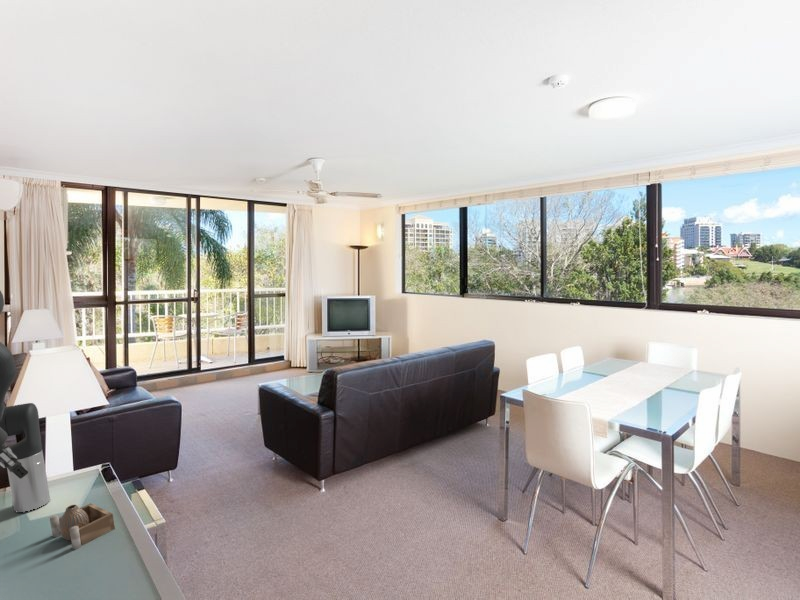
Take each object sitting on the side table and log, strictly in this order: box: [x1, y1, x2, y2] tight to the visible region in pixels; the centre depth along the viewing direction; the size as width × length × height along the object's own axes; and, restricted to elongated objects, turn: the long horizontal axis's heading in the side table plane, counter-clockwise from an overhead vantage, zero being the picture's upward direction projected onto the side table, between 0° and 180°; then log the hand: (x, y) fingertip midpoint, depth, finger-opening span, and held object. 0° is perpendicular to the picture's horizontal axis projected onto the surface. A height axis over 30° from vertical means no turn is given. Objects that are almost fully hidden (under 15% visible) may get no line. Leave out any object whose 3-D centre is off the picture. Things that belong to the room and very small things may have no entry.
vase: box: [59, 504, 90, 541], centre depth 130 cm, size 7×7×9 cm
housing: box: [49, 503, 116, 550], centre depth 132 cm, size 14×10×6 cm
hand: (23, 474), depth 124 cm, fingers closed
